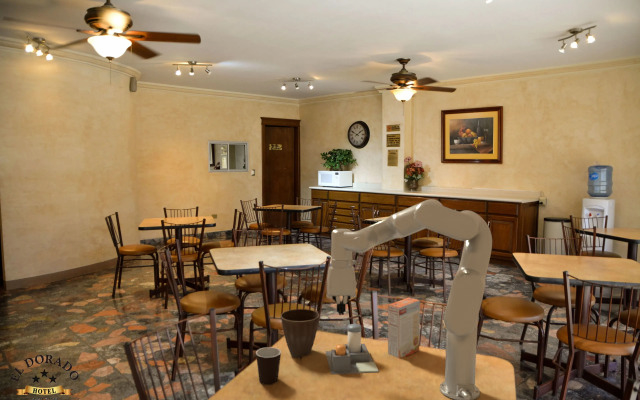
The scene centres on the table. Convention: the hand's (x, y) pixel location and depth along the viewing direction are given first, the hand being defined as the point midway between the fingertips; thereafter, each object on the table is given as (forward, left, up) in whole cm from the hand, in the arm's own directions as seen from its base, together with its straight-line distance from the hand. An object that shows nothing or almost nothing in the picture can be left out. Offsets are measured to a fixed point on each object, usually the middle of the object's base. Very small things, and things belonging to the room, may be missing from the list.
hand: (340, 313), depth 167 cm
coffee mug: (-5, +25, -21) cm, 33 cm away
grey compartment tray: (+5, -5, -21) cm, 22 cm away
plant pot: (+15, +14, -21) cm, 29 cm away
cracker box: (+13, -27, -21) cm, 37 cm away
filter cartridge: (+9, -7, -20) cm, 23 cm away
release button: (0, 0, -16) cm, 16 cm away
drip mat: (-1, -10, -21) cm, 23 cm away
